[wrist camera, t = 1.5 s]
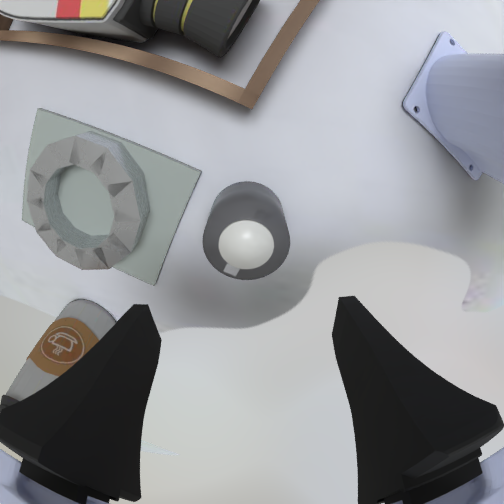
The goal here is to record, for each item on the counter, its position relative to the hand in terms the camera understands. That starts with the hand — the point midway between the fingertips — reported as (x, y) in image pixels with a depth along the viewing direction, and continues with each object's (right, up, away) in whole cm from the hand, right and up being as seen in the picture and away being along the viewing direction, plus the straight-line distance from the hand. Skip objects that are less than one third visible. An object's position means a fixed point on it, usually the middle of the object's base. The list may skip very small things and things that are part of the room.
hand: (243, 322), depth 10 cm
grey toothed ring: (-11, +7, +7) cm, 15 cm away
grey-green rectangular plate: (-11, +7, +7) cm, 15 cm away
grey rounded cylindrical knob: (0, +5, +9) cm, 10 cm away
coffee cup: (-16, -4, +14) cm, 22 cm away
